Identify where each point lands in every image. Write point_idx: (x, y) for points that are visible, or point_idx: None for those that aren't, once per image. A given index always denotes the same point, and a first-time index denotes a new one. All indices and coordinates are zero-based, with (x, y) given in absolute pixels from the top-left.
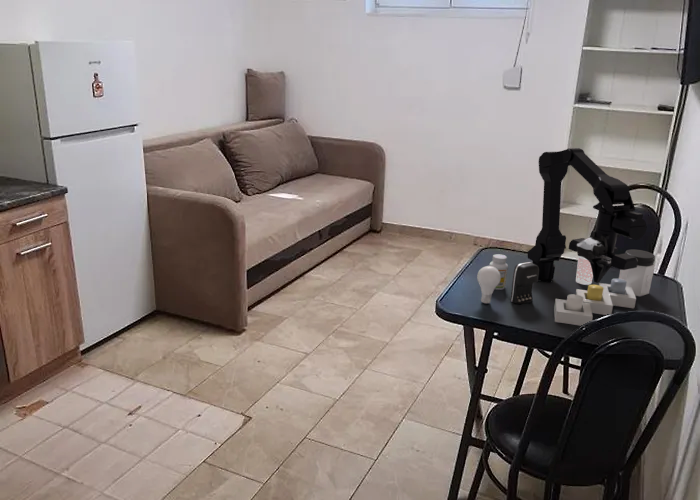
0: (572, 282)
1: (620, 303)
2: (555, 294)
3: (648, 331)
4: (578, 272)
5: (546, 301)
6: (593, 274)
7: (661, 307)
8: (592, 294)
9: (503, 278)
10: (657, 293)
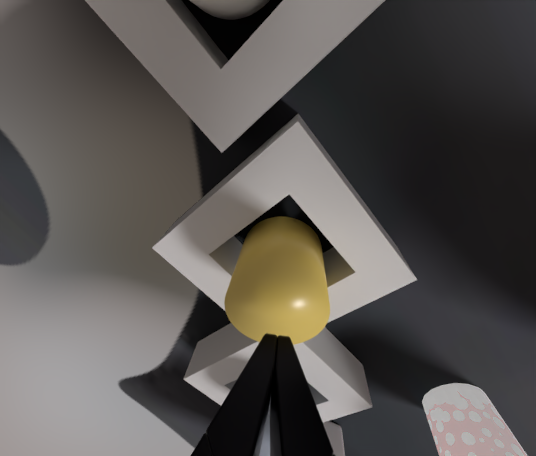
0: (489, 374)
1: (228, 332)
2: (506, 208)
3: (11, 216)
4: (504, 435)
5: (516, 48)
6: (304, 399)
7: (174, 396)
8: (264, 244)
9: None
10: None
